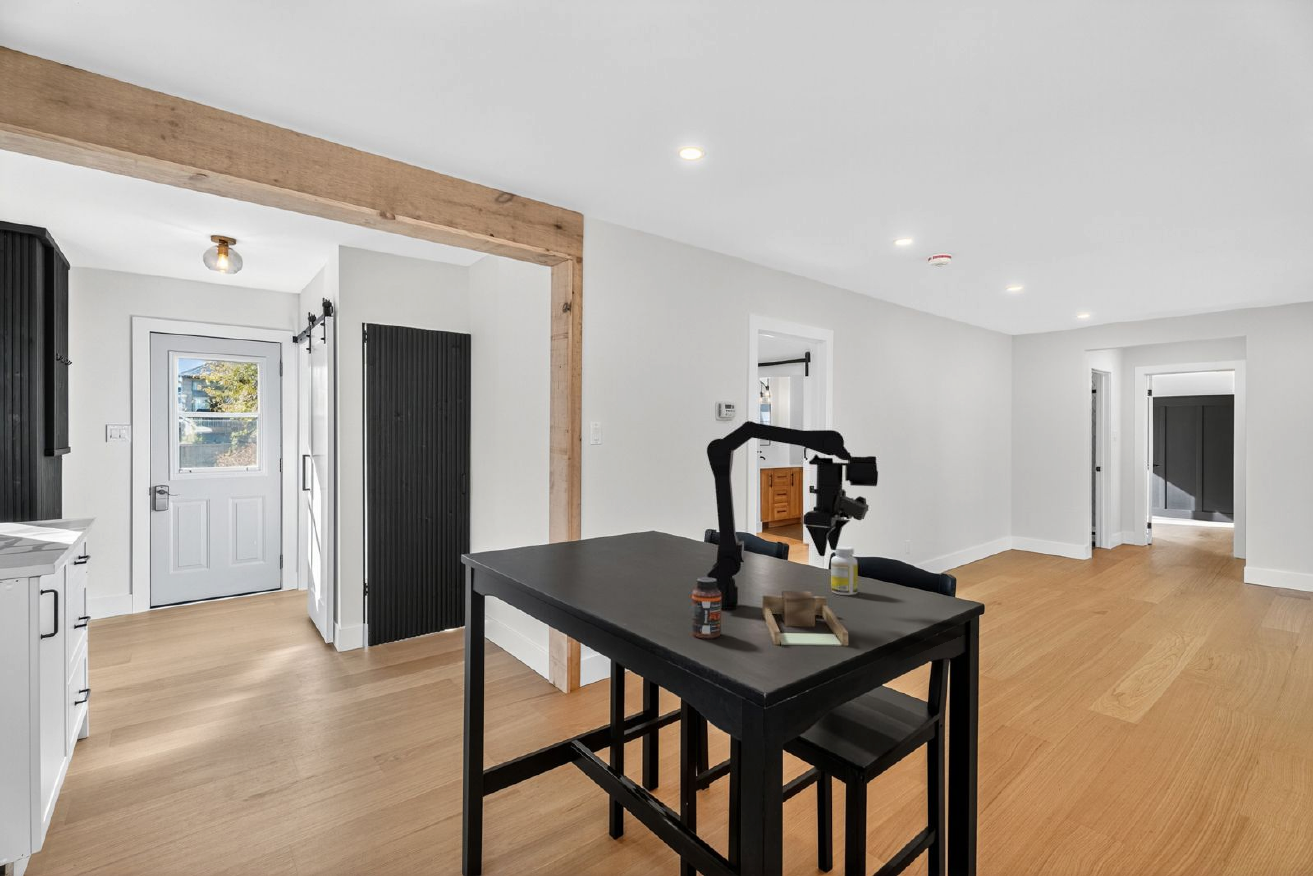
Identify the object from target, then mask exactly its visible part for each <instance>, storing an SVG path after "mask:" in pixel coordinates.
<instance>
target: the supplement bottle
mask: <svg viewBox="0 0 1313 876" xmlns="http://www.w3.org/2000/svg"><path fill="white" fill-rule="evenodd" d="M716 586H717V580H716V579H715V578H708V576H707V577H704V576H703V577H699V578H697V579H696V588H695V589H693V591H692V597H691V600H692V601H691V603H692V604H691V605H692V606H691V633H692V635H693V636H694V637H696V638H699V639H704V640H705V639H707V640H708V639H714V638H715V639H716V638H718V637H720V636H721V633H722V609H721V592H720V590H718V588H717V587H716Z"/></svg>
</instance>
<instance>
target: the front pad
mask: <svg viewBox="0 0 1313 876" xmlns="http://www.w3.org/2000/svg"><path fill="white" fill-rule="evenodd" d="M780 644H781V645H785V646H786V645H790V646H791V645H795V646H796V645H797V646H837V647H838V646H842V644H841V642H840V641H839V639H838V638H837V637H836V635H835V634H834V633H800V632H799V633H793V632H792V633H791V632H789V633H788V632H785V633H784V632H780Z"/></svg>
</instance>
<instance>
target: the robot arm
mask: <svg viewBox="0 0 1313 876" xmlns="http://www.w3.org/2000/svg"><path fill="white" fill-rule="evenodd" d="M751 439H757V440H764V441H770V442H777V443H782V444H789V445H794V446H799V447H803V448H805V449H806V448H807V449H809V450H812V451H814V452H817V453H821V454H824V455H825V456H826V455H827V456H835V457H836V458H838V459H839V460H841V461H847V462H836V461H835V462H834V459H833V458H832V457H819V455H818V454H814V456H813V457H812V458H811V459H810V460H809V461H808V464H809V465H811V466H813V465H814V466H815V465H816V488H814V489H813V494H815V497H816V498H815V499H816V501H815V506H813V507H812V508H813V510H810V511H809V510H808V511H807V512H806V513H805V514H804V515H803V518H802V519H803V521H802V524H803V525H804V526H805V528H807V531H808V533H809V535H810V537H811V540H812V541H813V544H814V546H815V548H816V551H817V554H818V555H819V557H825V555H826V552H827V547H828V544H829V547H830V550H832V551H835V550H836V548H837V546H838V544H839V540H840V537H841V533H842V531H843V527H845V526H846V525H847V524H848V523H849V522H850V521H851V520H850V519H855V520H857V521H861V520H864V519H865V517H866V514H867V512H868V511H869V507H870V506H869V504H867V499H866V497H863V496H858V497H856V498H853V497H848V496H846V492H847V491H846V490H845V489H844V488H843V475H844V479H845V482H849V485H850V487H851V486H853V487H855V486H856V487H858V486H859V487H877V485H878V481H879V480H878V479H879V471H878V466H877V464H878V463H877V457H876V456H873V455H871V456H870V455H868V456H852V455H851V452H849V451H848V450H847V448H846V447H845V446H844V445H845V440H844V437H843V436H842V434H841V433H840V432H838V431H836V430H834V429H833V430H832V429H826V430H825V429H822V430H819V429H817V430H812V429H811V430H801V429H796V428H789V427H783V426H777V425H770V424H765V423H759V422H758V423H756V422H754V421H751V420H747V421H745V422H743V423H742V425H740V426H739V427H737V428H736V429H735V430H733V431H732V432H730V433H729V434H727V435H726V436H724V437H723V438H715V439H713V440H711V441H710V442H709V443H708V445H707V447H706V455H707V459H708V462H709V465H710V466H709V467H710V469H711V472H712V475H713V478H714V489H715V497H716V498H715V499H716V510H717V520H718V522H717V523H718V535H719V539H718V546H717V555H716V562H715V563H714V564H713V565H712V566H711V567H710V570H709V571H708V572H707V574H706V575H707V577H708V578H715V579H716V580H717V586H716V587H717V588H718V590H720V592H721V610H722V609H723V610H725V609H727V610H728V609H730V610H731V609H732V610H733V609H734V610H735V609H737V605H738V602H739V601H738V599H739V594H738V593H739V592H738V591H739V587H738V585H737V584H736V579H735V576H736V575H737V574H738V573H739V572H740V570H741V568H742V566H743V564H744V562H745V560H746V557H747V556H746V554H745V540H741V541H740V540H739V538H738V535H737V533H736V532H737V531H736V530H737V529H736V520H735V511H734V510H735V509H734V498H733V497H734V496H733V486H732V485H733V484H732V470H733V464H734V453H735V451H736V450H737V449H738V448H740V447H741V446H743V445H744V444H745V443H747V442H748V441H749V440H751ZM843 467H845V468H843ZM843 469H844V471H843ZM843 472H844V474H843Z"/></svg>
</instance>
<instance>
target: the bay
mask: <svg viewBox="0 0 1313 876" xmlns="http://www.w3.org/2000/svg"><path fill="white" fill-rule="evenodd" d="M813 597H814V598H815V599H816V602H815V615H819V617H820V616H821V617H822V618H823V619H824V622H825V623H826V624H827V625H828V627H829V628H830V630H831V631H832V633H833V634H835V636H837V639H838V640H839V641H840V643H841V646H845V647H847V646H849V632H848V631H847V629H846V628H845V627H844V626H843V624H842V623H841V622H840V620H839V619H838V618H837V616H836V615H835V614H834V613H833V612H832V610H831V609H830V608H829V606H828V605H827V597H826V596H813ZM772 614H778V615H777V616H780V615H779V614H782V595H762V615H764V616H763V618H764V620H766V621H765V623H766V625H767V628H769V629H768V631H769V634H770V633H771V634H770V636H771V639H772V641H774V642H773V643H774V644H773V645H780V644H781V642H780V633H781V632H780V631H781V630H780V629H779V627H778V624H777V622H776V619H775V617H774V615H772Z"/></svg>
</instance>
